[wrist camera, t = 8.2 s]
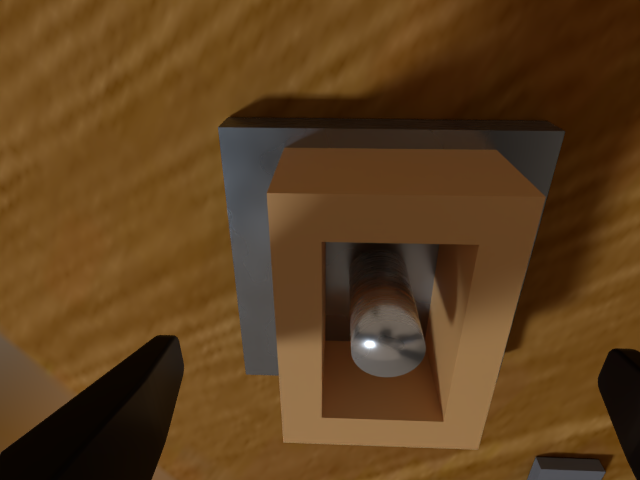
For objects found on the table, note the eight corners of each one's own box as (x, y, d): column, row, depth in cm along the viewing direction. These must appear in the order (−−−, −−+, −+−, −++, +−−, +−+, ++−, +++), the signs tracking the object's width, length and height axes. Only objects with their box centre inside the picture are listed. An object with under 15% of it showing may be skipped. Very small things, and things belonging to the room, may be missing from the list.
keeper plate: (487, 359, 15) (532, 472, 11) (251, 352, 15) (224, 460, 11) (547, 120, 11) (645, 178, 7) (227, 116, 11) (175, 171, 8)
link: (453, 368, 14) (477, 449, 11) (293, 363, 14) (283, 442, 11) (496, 149, 10) (545, 196, 8) (284, 147, 10) (266, 192, 8)
